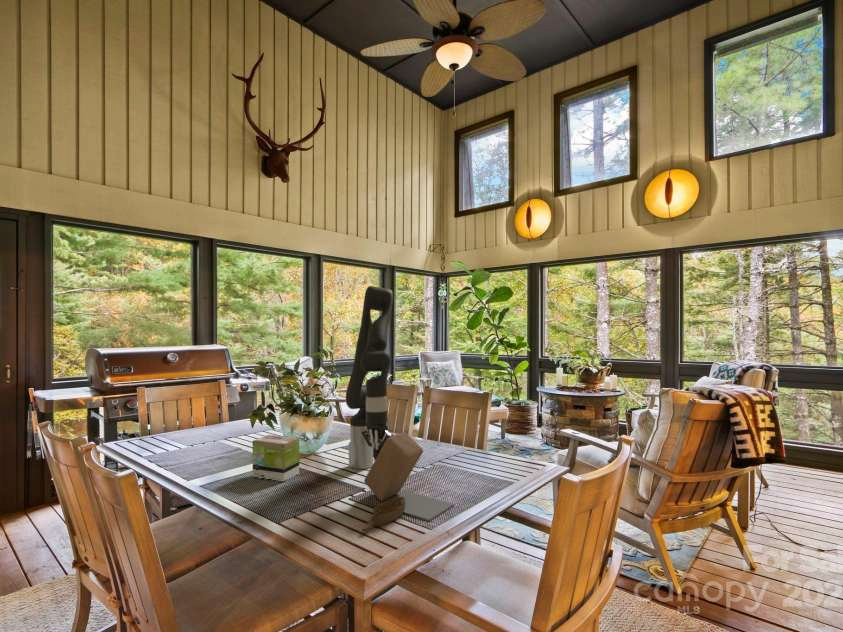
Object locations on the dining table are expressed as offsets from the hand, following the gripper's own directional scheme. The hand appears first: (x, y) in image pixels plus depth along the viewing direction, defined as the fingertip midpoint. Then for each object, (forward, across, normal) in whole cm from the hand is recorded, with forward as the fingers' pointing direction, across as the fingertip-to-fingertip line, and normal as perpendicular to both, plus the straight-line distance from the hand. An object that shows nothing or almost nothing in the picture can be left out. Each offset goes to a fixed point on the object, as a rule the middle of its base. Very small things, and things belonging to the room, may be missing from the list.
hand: (377, 459), depth 155 cm
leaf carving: (+12, -14, +13) cm, 23 cm away
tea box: (+12, +46, +8) cm, 48 cm away
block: (+10, -1, 0) cm, 10 cm away
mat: (+12, -16, 0) cm, 20 cm away
